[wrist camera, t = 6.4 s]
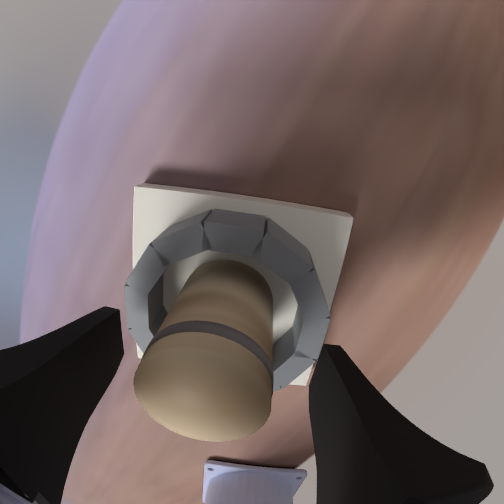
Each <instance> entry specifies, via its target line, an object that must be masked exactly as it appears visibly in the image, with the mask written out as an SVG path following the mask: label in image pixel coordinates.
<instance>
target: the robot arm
mask: <svg viewBox="0 0 504 504" xmlns="http://www.w3.org/2000/svg"><path fill="white" fill-rule="evenodd" d="M123 355H124V349H123V340H122V331H121V320H120V310H119V309H114V308H110V307H106V306H105V307H102V308H100V309H97V310H95V311H93V312H91V313H89V314H87V315H85V316H83V317H81V318H79V319H77V320H75V321H73V322H71V323H69V324H67V325H65V326H63V327H61V328H59V329H57V330H55V331H52V332H50V333H48V334H46V335H43V336H41V337H39V338H37V339H34V340H31V341H29V342H26V343H23V344H20V345H17V346H14V347H11V348H7V349H3V350H0V504H61V499H62V495H63V490H64V486H65V482H66V478H67V475H68V471H69V468H70V465H71V462H72V459H73V456H74V453H75V450H76V448H77V445H78V442H79V440H80V438H81V435H82V433H83V430H84V428H85V426H86V424H87V422H88V420H89V418H90V416H91V415H92V413H93V411H94V409H95V408H96V406H97V404H98V403H99V401H100V399H101V398H102V396H103V394H104V393H105V391H106V390H107V388H108V386H109V384H110V383H111V381H112V379H113V378H114V376H115V374H116V372H117V369H118V367H119V365H120V362H121V360H122V358H123ZM309 413H310V420H311V428H312V435H313V442H314V449H315V456H316V466H317V504H479V503H480V502H481V501H483V500H484V499H485V498H486V497H487V496H488V495H489V494H490V493H491V491H492V489H493V486H494V485H493V482H492V480H491V477H490V475H489V473H488V470H487V468H486V466H485V464H484V463H481V462H479V461H477V460H474V459H472V458H469V457H467V456H465V455H462V454H460V453H458V452H456V451H454V450H453V449H451V448H449V447H447V446H445V445H443V444H442V443H440V442H438V441H437V440H435V439H434V438H432V437H431V436H429V435H428V434H426V433H425V432H423V431H422V430H420V429H419V428H418V427H416V426H415V425H414V424H413V423H411V422H410V421H409V420H408V419H407V418H405V417H404V416H403V415H402V414H401V413H400V412H398V411H397V410H396V409H395V408H394V407H393V406H392V405H391V404H390V403H389V402H388V401H387V400H386V399H385V398H384V397H383V396H382V395H381V394H380V393H379V392H378V391H377V389H376V388H375V387H374V386H373V385H372V384H371V383H370V382H369V380H368V379H367V378H366V377H365V376H364V374H363V373H362V372H361V371H360V370H359V368H358V367H357V366H356V365H355V363H354V362H353V361H352V360H351V358H350V357H349V356H348V355H347V353H346V352H345V351H344V350H343V348H342V347H341V346H340V345H329V344H323V346H322V349H321V352H320V355H319V358H318V361H317V364H316V367H315V370H314V373H313V376H312V379H311V381H310V384H309ZM306 476H307V471H306V470H303V469H284V468H270V467H259V466H249V465H241V464H233V463H226V462H220V461H214V460H207V461H206V462H205V467H204V484H203V503H204V504H293V496H294V494H295V493H296V491H297V490H298V488H299V487H300V485H301V484H302V482H303V481H304V479H305V477H306Z"/></svg>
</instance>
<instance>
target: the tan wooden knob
mask: <svg viewBox="0 0 504 504" xmlns="http://www.w3.org/2000/svg"><path fill="white" fill-rule="evenodd" d="M272 348H273V296H272V292H271V289H270V287H269V285H268V283H267V281H266V280H265V279H264V277H263V276H262V275H261V274H260V273H259V272H258V271H256V270H255V269H254V268H252V267H250V266H249V265H247V264H244V263H242V262H238V261H234V260H215V261H211V262H208V263H205V264H203V265H202V266H200V267H198V268H197V269H196V270H195V271H194V272H193V273H192V274H191V275H190V276H189V278H188V279H187V281H186V283H185V285H184V286H183V288H182V290H181V291H180V293H179V295H178V297H177V298H176V300H175V302H174V304H173V305H172V307H171V309H170V311H169V312H168V314H167V316H166V318H165V319H164V321H163V323H162V325H161V326H160V328H159V330H158V332H157V334H156V335H155V336H154V337H153V338H152V340H151V341H150V343H149V345H148V346H147V348H146V350H145V352H144V354H143V356H142V359H141V363H140V364H139V366H138V368H137V370H136V372H135V376H134V390H135V393H136V396H137V398H138V400H139V402H140V404H141V405H142V407H143V408H144V409H145V411H146V412H147V413H148V414H149V415H150V416H151V417H152V418H153V419H155V420H156V421H157V422H158V423H160V424H161V425H163V426H164V427H166V428H168V429H170V430H171V431H174V432H176V433H178V434H180V435H183V436H186V437H189V438H193V439H197V440H203V441H214V442H221V441H231V440H236V439H240V438H243V437H246V436H248V435H250V434H253V433H254V432H256V431H257V430H259V429H260V428H261V427H262V426H263V425H264V424H265V422H266V421H267V419H268V417H269V415H270V412H271V398H272V394H273V382H274V374H273V368H272Z"/></svg>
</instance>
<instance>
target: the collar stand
mask: <svg viewBox="0 0 504 504" xmlns="http://www.w3.org/2000/svg"><path fill="white" fill-rule="evenodd" d="M353 219H354V218H353V217H352V216H351V215H350V214H349V213H348V212H342V211H337V210H332V209H326V208H320V207H315V206H309V205H303V204H297V203H291V202H285V201H279V200H272V199H266V198H259V197H253V196H246V195H239V194H232V193H224V192H217V191H209V190H201V189H193V188H185V187H176V186H167V185H158V184H148V183H142V184H140V185H137V186H134V206H133V271H132V272H131V274H130V275H129V277H128V279H127V280H126V282H125V283H126V285H125V286H124V287H125V305H126V319H127V327H128V328H129V330H128V331H129V332H130V334H131V335H132V337H133V338H134V340H135V341H136V343H137V353H138V358H141V359H142V356H143V354H144V352H145V350H146V348H147V346H148V345H149V343H150V341H151V340H152V338H153V337H154V336H155V335H156V334H157V332H158V330H159V328H160V326H161V325H162V323H163V321H164V319H165V318H166V316H167V314H168V312H169V311H170V309H171V307H172V305H173V304H174V302H175V300H176V298H177V297H178V295H179V293H180V291H181V290H182V288H183V286H184V285H185V283H186V281H187V279H188V278H189V276H190V275H191V274H192V273H193V272H194V271H195V270H196V269H197V268H198V267H200V266H202V265H203V264H205V263H208V262H211V261H215V260H234V261H238V262H242V263H244V264H247V265H249V266H250V267H252V268H254V269H255V270H256V271H258V272H259V273H260V274H261V275H262V276H263V277H264V279H265V280H266V281H267V283H268V285H269V287H270V289H271V292H272V296H273V348H272V368H273V374H274V382H273V391H277V390H280V389H281V387H283V388H285V387H286V386H287V385H288V384H292V385H303V386H306V384H307V381H308V378H309V375H310V372H311V369H312V366H313V364H314V363H315V362H316V359H318V357H319V354H320V351H321V348H322V345H323V342H324V338H325V335H326V332H327V329H328V326H329V322H330V309H331V305H332V302H333V298H334V295H335V291H336V288H337V284H338V280H339V276H340V273H341V269H342V265H343V261H344V257H345V253H346V249H347V245H348V241H349V237H350V232H351V228H352V224H353Z"/></svg>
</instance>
